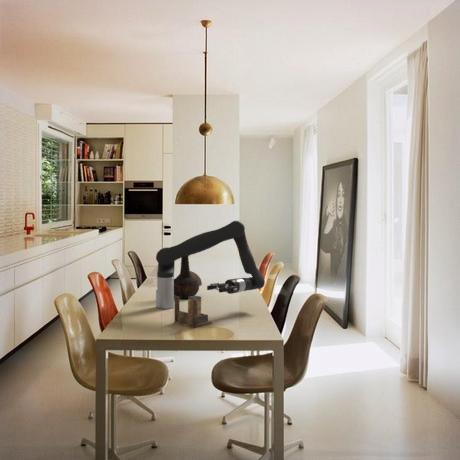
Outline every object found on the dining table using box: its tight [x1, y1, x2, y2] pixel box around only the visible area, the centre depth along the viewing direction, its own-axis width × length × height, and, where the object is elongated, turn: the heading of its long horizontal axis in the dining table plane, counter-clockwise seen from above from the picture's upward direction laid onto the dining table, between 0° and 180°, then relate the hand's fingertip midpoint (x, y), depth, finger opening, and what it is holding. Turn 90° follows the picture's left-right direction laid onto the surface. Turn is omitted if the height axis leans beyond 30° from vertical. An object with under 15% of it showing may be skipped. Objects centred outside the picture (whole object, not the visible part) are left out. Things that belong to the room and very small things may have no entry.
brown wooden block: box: [187, 295, 202, 316], centre depth 265 cm, size 4×5×12 cm
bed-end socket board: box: [173, 295, 213, 329], centre depth 264 cm, size 15×12×13 cm
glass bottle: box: [174, 255, 200, 299], centre depth 331 cm, size 18×18×28 cm
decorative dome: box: [175, 270, 202, 287], centre depth 376 cm, size 19×20×10 cm
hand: (213, 289), depth 274 cm, fingers open, 8 cm apart
